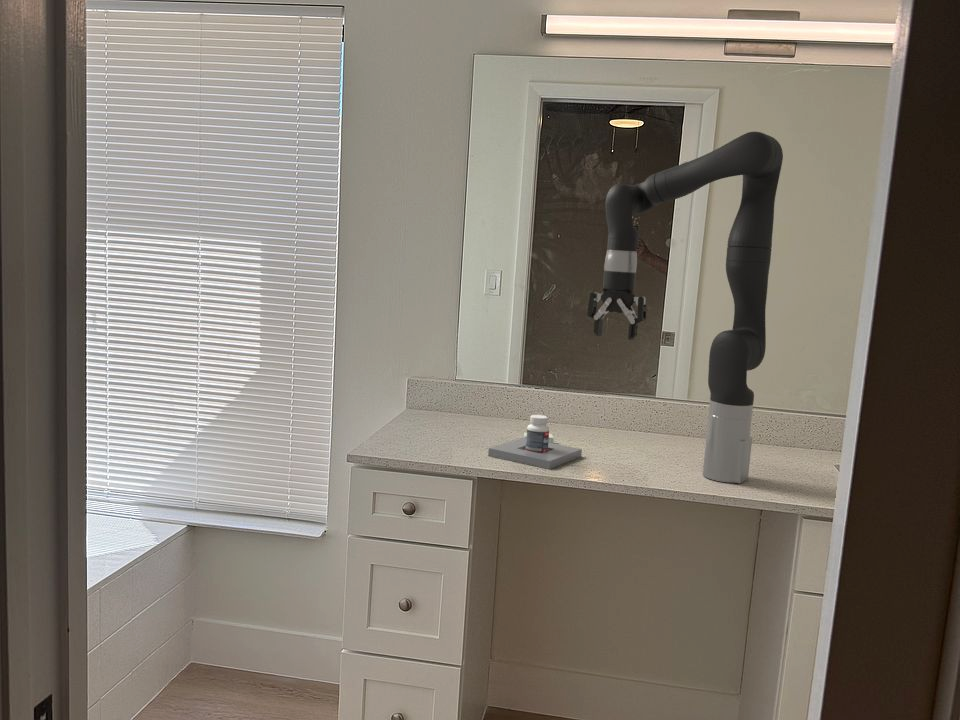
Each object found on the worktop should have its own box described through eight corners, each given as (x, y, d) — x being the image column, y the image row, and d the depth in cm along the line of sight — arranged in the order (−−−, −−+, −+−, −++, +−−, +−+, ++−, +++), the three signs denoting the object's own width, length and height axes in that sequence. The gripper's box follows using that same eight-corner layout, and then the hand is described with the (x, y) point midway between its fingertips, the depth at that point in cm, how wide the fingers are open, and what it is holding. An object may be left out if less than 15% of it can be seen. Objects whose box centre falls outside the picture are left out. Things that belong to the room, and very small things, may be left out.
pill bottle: (546, 457, 198) (548, 419, 196) (523, 455, 199) (526, 417, 197) (548, 452, 203) (551, 415, 202) (527, 450, 204) (529, 413, 202)
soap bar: (550, 443, 216) (551, 433, 216) (552, 447, 212) (553, 437, 212) (523, 442, 216) (523, 432, 216) (524, 446, 212) (525, 436, 211)
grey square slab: (581, 456, 203) (581, 449, 203) (548, 469, 190) (549, 461, 190) (523, 444, 212) (523, 437, 211) (488, 455, 198) (488, 448, 198)
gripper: (654, 272, 203) (648, 340, 205) (599, 268, 211) (594, 333, 213) (642, 272, 197) (636, 342, 199) (586, 267, 204) (580, 335, 206)
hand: (614, 337), depth 206 cm, fingers open, 8 cm apart
